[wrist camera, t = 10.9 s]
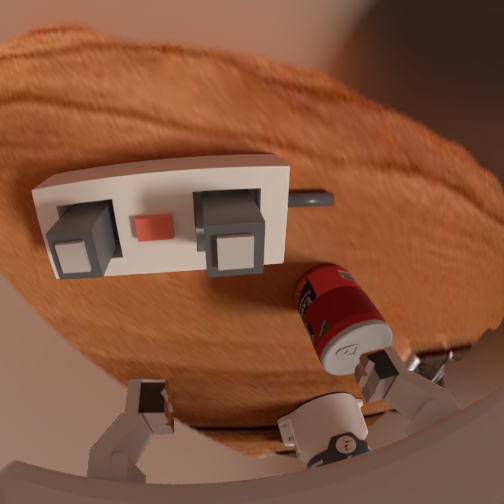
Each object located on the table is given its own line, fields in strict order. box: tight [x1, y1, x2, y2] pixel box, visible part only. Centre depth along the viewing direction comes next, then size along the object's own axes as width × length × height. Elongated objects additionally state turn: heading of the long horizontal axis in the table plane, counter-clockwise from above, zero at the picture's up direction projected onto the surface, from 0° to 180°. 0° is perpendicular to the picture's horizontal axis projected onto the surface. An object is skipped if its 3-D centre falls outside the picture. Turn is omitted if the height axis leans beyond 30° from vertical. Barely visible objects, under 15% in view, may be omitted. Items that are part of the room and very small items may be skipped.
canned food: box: [294, 265, 392, 375], centre depth 32 cm, size 8×8×11 cm
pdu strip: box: [31, 154, 334, 280], centre depth 24 cm, size 9×28×9 cm, turn 89°
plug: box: [202, 189, 265, 278], centre depth 23 cm, size 4×4×8 cm
